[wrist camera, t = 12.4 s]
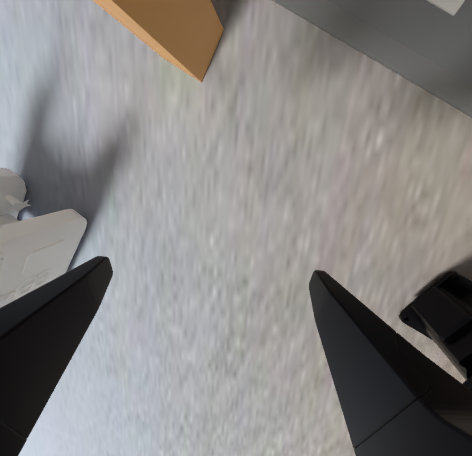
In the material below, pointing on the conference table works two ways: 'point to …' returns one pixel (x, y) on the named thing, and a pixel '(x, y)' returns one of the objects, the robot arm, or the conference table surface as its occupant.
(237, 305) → the conference table surface
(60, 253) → the cable organizer
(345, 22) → the power strip
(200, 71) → the plug
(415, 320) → the robot arm
